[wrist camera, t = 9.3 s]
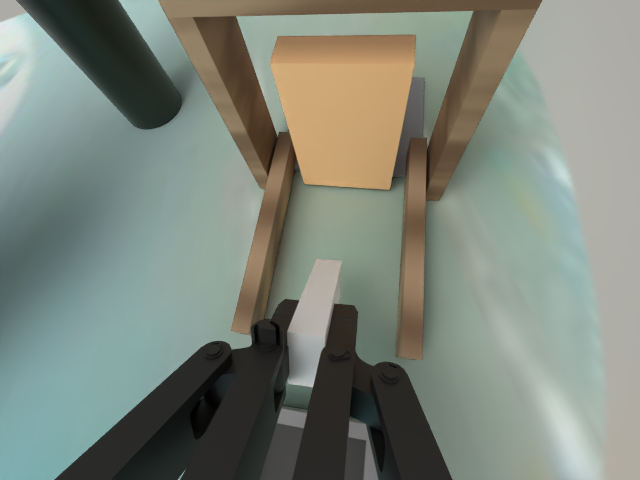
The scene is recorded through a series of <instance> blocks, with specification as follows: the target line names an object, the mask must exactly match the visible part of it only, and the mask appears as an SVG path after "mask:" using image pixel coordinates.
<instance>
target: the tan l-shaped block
mask: <svg viewBox="0 0 640 480" xmlns="http://www.w3.org/2000/svg"><path fill="white" fill-rule="evenodd" d="M415 46H416V35H353V36H278V37H277V41H276V44H275V48H274V51H273V55H272V58H271V62H270V65H271V69H272V72H273V76H274V79H275V83H276V86H277V90H278V93H279V97H280V100H281V104H282V107H283V111H284V114H285V118H286V121H287V125H288V128H289V132H290V135H291V139H292V142H293V146H294V149H295V153H296V156H297V160H298V164H299V167H300V171H301V174H302V178H303V181H304V184H311V185H326V186H341V187H356V188H371V189H386V190H390V186H391V181H392V176H393V171H394V166H395V161H396V156H397V151H398V146H399V141H400V136H401V131H402V126H403V121H404V115H405V110H406V105H407V100H408V95H409V90H410V85H411V80H412V75H413V70H414V65H415Z"/></svg>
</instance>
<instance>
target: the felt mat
mask: <svg viewBox="0 0 640 480" xmlns="http://www.w3.org/2000/svg"><path fill="white" fill-rule="evenodd" d="M423 109H424V78H412V80H411V85H410V90H409V95H408V100H407V105H406V110H405V115H404V121H403V126H402V131H401V136H400V141H399V146H398V151H397V156H396V161H395V166H394V171H393V176H392V177H405V173H406V155H407V151H408V147H409V143H410V138H411V137H416V138H423ZM288 132H289V129H288ZM294 170H295V171H300V167H299V164H298V160H297V157H296V162H295V166H294Z"/></svg>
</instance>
